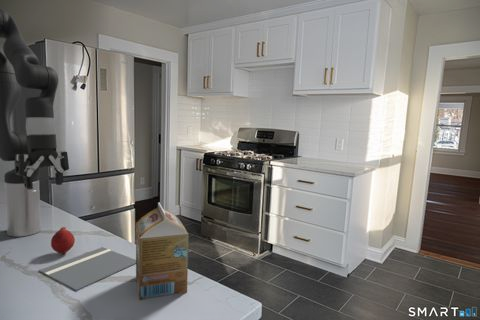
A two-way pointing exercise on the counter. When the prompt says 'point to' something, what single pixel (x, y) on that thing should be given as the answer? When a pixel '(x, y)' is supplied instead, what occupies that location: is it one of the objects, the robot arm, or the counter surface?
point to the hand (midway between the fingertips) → (44, 186)
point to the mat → (88, 268)
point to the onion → (62, 241)
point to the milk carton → (161, 255)
